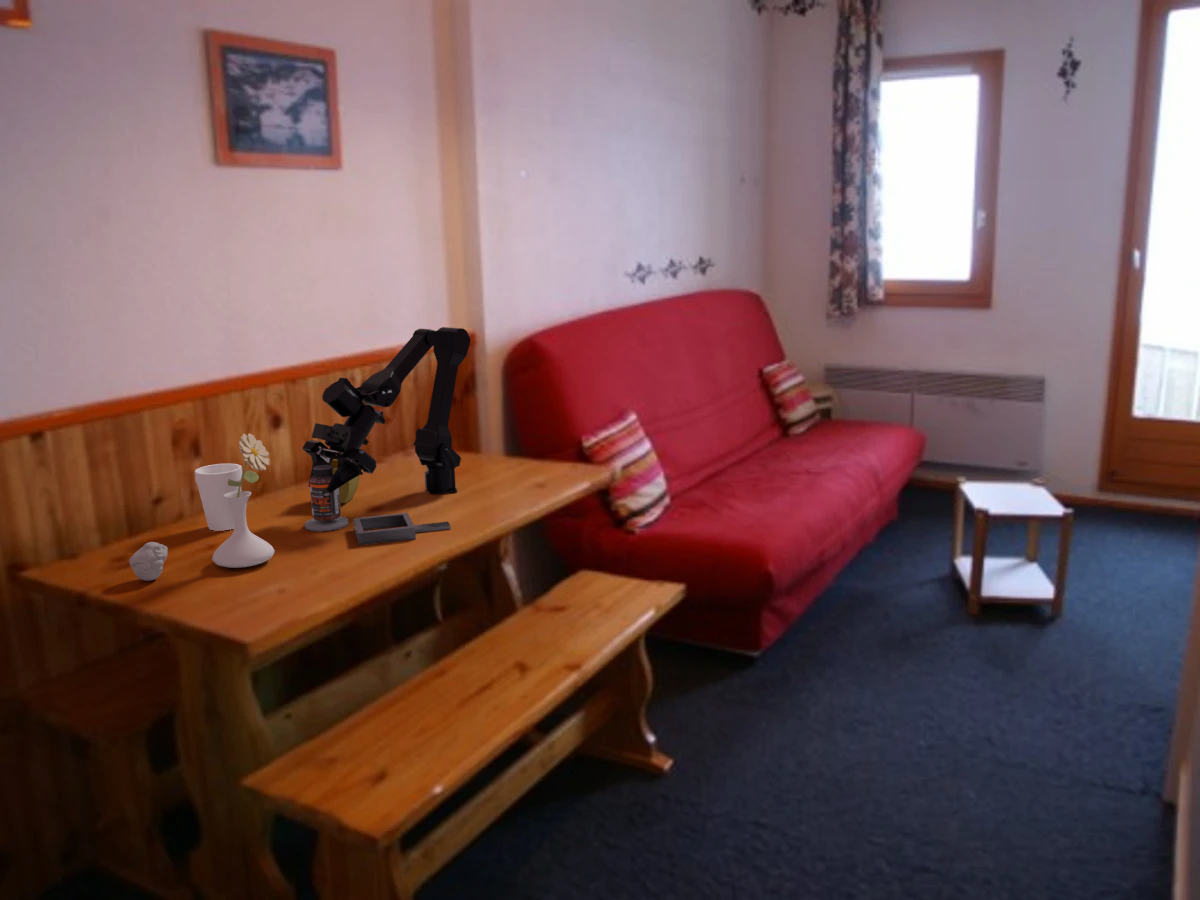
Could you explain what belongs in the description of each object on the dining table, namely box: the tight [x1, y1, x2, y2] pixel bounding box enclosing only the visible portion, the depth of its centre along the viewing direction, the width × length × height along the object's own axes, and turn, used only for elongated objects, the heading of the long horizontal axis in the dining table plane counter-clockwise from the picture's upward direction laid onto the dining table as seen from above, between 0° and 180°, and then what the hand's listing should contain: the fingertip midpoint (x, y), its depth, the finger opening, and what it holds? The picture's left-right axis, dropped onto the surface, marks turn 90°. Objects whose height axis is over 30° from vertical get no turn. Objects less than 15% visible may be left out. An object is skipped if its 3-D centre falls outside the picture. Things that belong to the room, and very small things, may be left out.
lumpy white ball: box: [128, 541, 169, 582], centre depth 191 cm, size 6×7×7 cm
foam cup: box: [194, 463, 243, 532], centre depth 221 cm, size 10×9×13 cm
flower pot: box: [330, 459, 360, 504], centre depth 240 cm, size 9×9×9 cm
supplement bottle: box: [309, 465, 342, 521], centre depth 221 cm, size 6×6×11 cm
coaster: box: [304, 516, 349, 533], centre depth 222 cm, size 9×9×1 cm
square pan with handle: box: [352, 512, 451, 546], centre depth 216 cm, size 19×11×2 cm, turn 108°
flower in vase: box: [211, 433, 276, 569], centre depth 197 cm, size 13×11×25 cm
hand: (319, 489), depth 220 cm, fingers closed on supplement bottle, 6 cm apart
